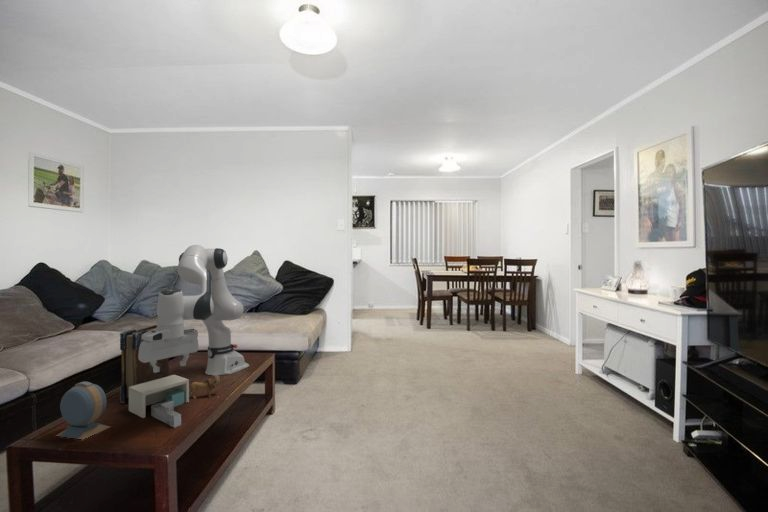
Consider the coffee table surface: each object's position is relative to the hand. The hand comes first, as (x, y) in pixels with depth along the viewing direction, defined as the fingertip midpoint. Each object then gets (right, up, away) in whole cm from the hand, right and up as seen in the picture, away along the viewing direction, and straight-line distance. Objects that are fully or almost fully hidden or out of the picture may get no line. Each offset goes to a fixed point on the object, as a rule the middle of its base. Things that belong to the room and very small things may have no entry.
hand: (170, 368), depth 134 cm
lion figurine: (0, -21, +26) cm, 33 cm away
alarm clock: (-27, -21, -6) cm, 35 cm away
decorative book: (-29, -21, +30) cm, 46 cm away
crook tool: (-2, -20, +4) cm, 21 cm away
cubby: (-13, -21, +15) cm, 29 cm away
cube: (-8, -21, +17) cm, 28 cm away
